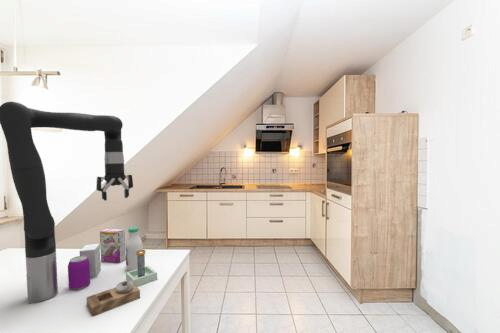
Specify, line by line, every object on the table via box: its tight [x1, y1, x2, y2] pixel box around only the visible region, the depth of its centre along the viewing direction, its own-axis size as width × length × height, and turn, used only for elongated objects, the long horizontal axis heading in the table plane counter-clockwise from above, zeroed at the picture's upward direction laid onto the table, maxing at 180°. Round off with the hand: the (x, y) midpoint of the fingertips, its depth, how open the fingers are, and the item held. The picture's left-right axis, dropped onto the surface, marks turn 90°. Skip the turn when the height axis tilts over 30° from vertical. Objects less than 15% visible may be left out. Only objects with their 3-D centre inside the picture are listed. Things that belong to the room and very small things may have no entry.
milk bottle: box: [125, 226, 144, 272], centre depth 124 cm, size 8×8×20 cm
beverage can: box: [67, 255, 91, 291], centre depth 108 cm, size 8×8×12 cm
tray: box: [125, 265, 158, 288], centre depth 113 cm, size 10×10×3 cm
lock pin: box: [136, 249, 146, 278], centre depth 113 cm, size 4×4×12 cm
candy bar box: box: [99, 228, 126, 264], centre depth 133 cm, size 11×5×16 cm, turn 82°
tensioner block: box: [86, 280, 141, 317], centre depth 96 cm, size 16×9×6 cm, turn 134°
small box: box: [79, 243, 102, 279], centre depth 118 cm, size 8×6×13 cm
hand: (115, 199), depth 112 cm, fingers open, 8 cm apart
